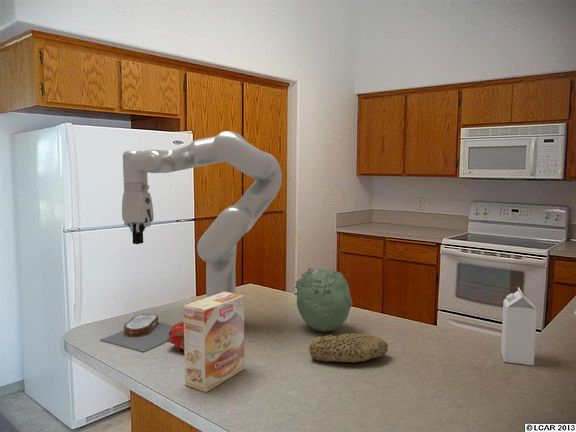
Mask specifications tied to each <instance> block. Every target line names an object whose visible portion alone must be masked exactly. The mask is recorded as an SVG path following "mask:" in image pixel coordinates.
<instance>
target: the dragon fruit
mask: <svg viewBox="0 0 576 432" xmlns="http://www.w3.org/2000/svg"><path fill="white" fill-rule="evenodd" d="M172 325H173V327H172V328H171V330H170V332H169V338H168V339H167V341H168V342H167V343H170V344H172V345H174V348H175V349H176V351H177V352H179V351H181V350H183V351H184V321H179V322H178V323H174V324H172Z"/></svg>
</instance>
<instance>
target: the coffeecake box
mask: <svg viewBox="0 0 576 432" xmlns="http://www.w3.org/2000/svg"><path fill="white" fill-rule="evenodd" d="M244 316H245V295H243V294H239V293H236V294H235V293H230V292H222V293H219V294H216V295H213V296H210V297H207V298H206V297H205V298H202V299H198V300H195V301H193V302H190V303H187V304H183V323H184V350H183V351H184V386H187V387H189V388H190V387H191V388H193V389H196V390H198V391H201V392H204V393H207V392H209V391H210V390H213V389H214V388H215V387H217V386H219V385H220V384H222V383H224V382H226V381H227V380H228V379H230V378H232V377H233V376H236V375H237V374H239V373H240V372H241V371H244V370H245V368H246V367H245V319H244Z"/></svg>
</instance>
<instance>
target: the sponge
mask: <svg viewBox="0 0 576 432" xmlns="http://www.w3.org/2000/svg"><path fill="white" fill-rule="evenodd" d="M388 347H389V344H388V342H387V341H385V340H384V339H381V337H379V336H376V335H370V334H362V333H355V332H353V333H352V332H350V333H349V332H348V333H342V334H339V335H332V334H326V335H325V336H316V337H313V339H312V340H311V343H310V344H309V345H308V352H309V354H310V357H311V359H312V360H315V361H321V362H335V363H336V362H337V363H340V362H341V363H361V362H367V361H370V360H373V359H377V358H380V357H382V356H383V355H385V354H387V353H388V351H389V348H388Z"/></svg>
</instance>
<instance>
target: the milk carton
mask: <svg viewBox="0 0 576 432" xmlns="http://www.w3.org/2000/svg"><path fill="white" fill-rule="evenodd" d="M502 303H503V304H502V305H503V306H502V322H501V323H502V325H501V326H502V327H501V343H500V345H501V347H500V355H501V357H502V361H503V362H504V363H510V364H517V365H524V366H525V365H526V366H534V365H535V352H536V350H535V349H536V333H537V331H536V330H537V316H538V315H537V313H538V312H537V311H538V310H537V308H536V306H535V305H534V304H533V302H532V301H531V300H530V299H529V298H527V297H526V296H525V294H523V292H522V290H521V289H520V287H519V286H518V287H517V291H515V292H514V293H509V294H507V296H506V297H505V298H504V300H503V301H502Z"/></svg>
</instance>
